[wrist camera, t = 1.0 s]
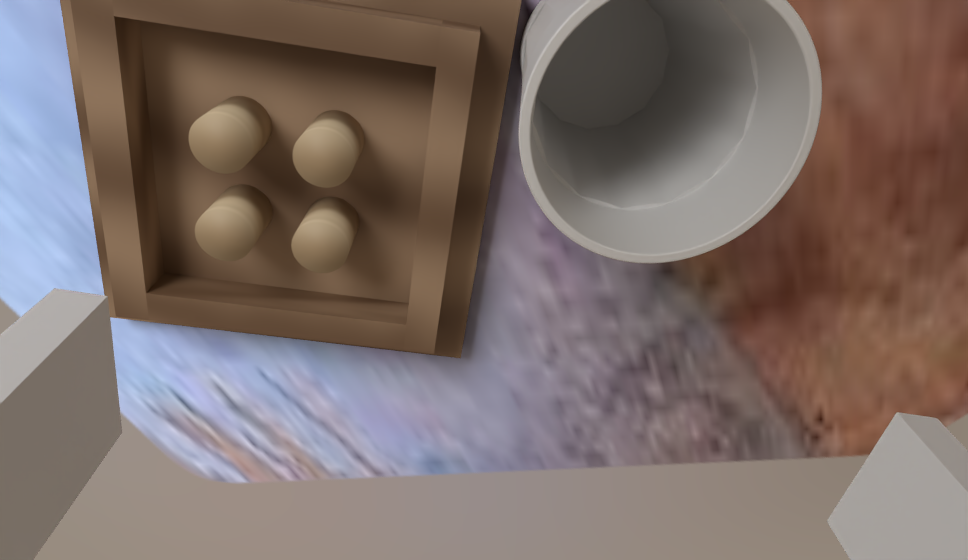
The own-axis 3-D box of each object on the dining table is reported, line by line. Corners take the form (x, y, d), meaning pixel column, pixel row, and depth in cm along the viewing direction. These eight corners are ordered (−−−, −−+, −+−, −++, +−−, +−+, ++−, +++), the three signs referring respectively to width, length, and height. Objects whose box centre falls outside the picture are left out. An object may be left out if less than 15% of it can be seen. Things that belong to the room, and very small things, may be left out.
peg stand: (61, -89, 24) (-7, -92, 21) (521, -10, 26) (529, -1, 23) (117, 306, 33) (75, 351, 30) (460, 347, 35) (459, 394, 31)
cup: (653, 157, 30) (754, 281, 19) (485, 128, 29) (494, 241, 18) (712, -30, 26) (877, -3, 15) (521, -69, 25) (557, -69, 15)
